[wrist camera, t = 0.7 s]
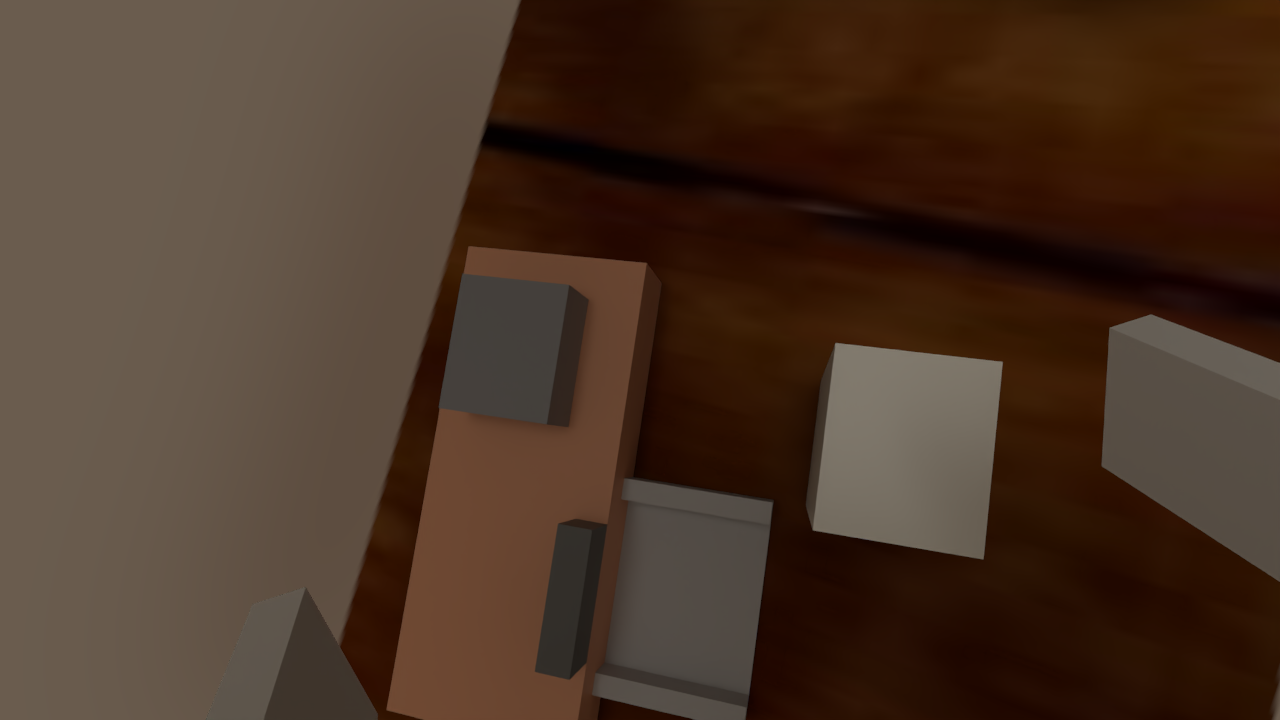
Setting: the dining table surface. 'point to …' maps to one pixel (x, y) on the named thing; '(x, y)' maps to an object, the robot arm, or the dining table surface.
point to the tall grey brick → (905, 448)
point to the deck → (568, 518)
